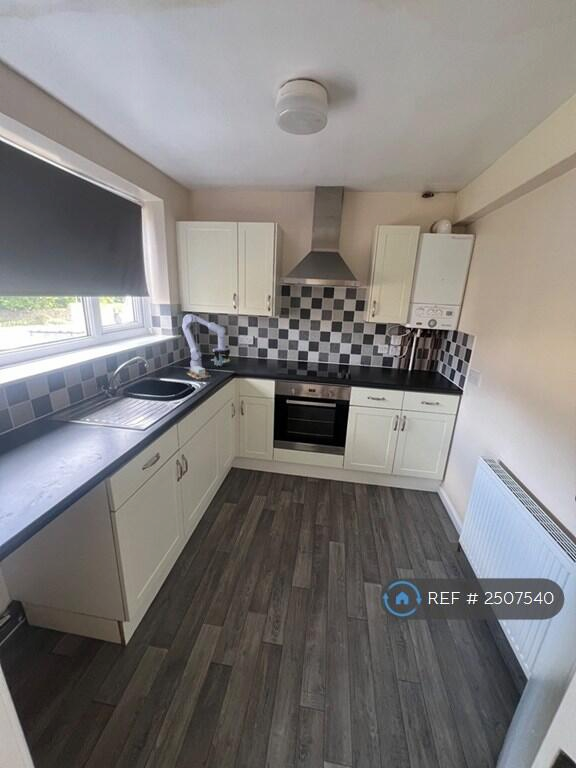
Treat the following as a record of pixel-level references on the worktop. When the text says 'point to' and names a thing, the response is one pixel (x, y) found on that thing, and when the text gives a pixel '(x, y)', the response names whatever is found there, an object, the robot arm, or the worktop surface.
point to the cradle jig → (198, 375)
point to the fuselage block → (199, 370)
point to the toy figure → (221, 360)
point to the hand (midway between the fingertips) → (222, 359)
